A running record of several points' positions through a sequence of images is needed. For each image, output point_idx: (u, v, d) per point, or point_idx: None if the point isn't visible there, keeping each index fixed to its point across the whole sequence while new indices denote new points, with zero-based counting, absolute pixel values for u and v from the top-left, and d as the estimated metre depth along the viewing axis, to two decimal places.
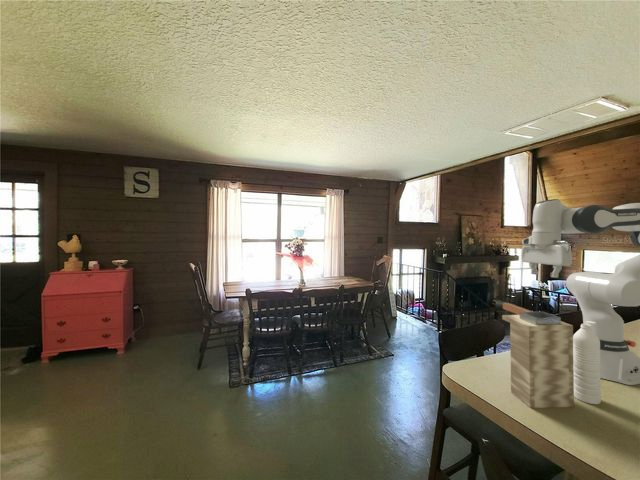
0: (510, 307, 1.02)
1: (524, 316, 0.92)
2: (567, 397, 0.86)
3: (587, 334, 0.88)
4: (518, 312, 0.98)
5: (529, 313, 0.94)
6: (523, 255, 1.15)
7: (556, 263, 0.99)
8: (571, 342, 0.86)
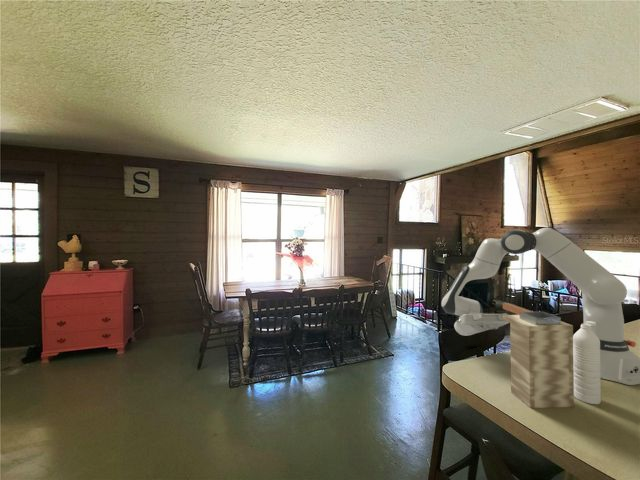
0: (510, 307, 1.02)
1: (524, 316, 0.92)
2: (567, 397, 0.86)
3: (587, 334, 0.88)
4: (518, 312, 0.98)
5: (529, 313, 0.94)
6: (505, 323, 1.20)
7: (471, 322, 1.18)
8: (571, 342, 0.86)
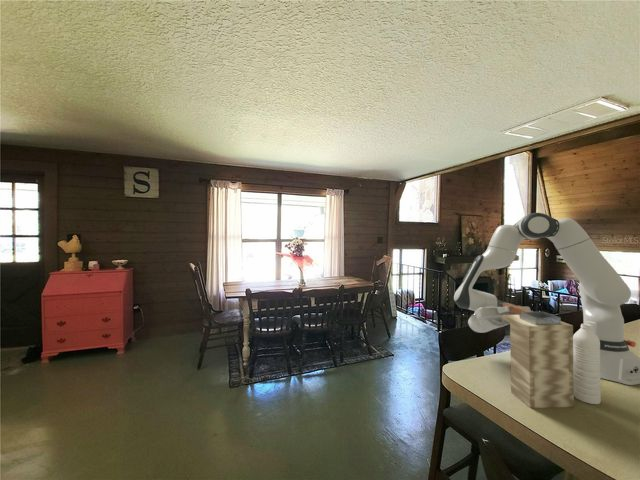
0: None
1: (524, 316, 0.92)
2: (567, 397, 0.86)
3: (587, 334, 0.88)
4: (518, 312, 0.98)
5: (529, 313, 0.94)
6: None
7: (488, 316, 1.06)
8: (571, 342, 0.86)
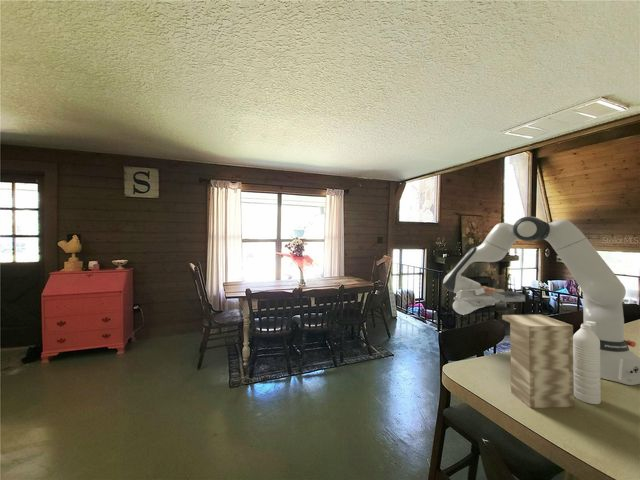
0: (486, 289, 1.17)
1: (495, 295, 1.06)
2: (567, 397, 0.86)
3: (587, 334, 0.88)
4: (492, 293, 1.13)
5: (500, 293, 1.08)
6: None
7: (467, 297, 1.21)
8: (571, 342, 0.86)
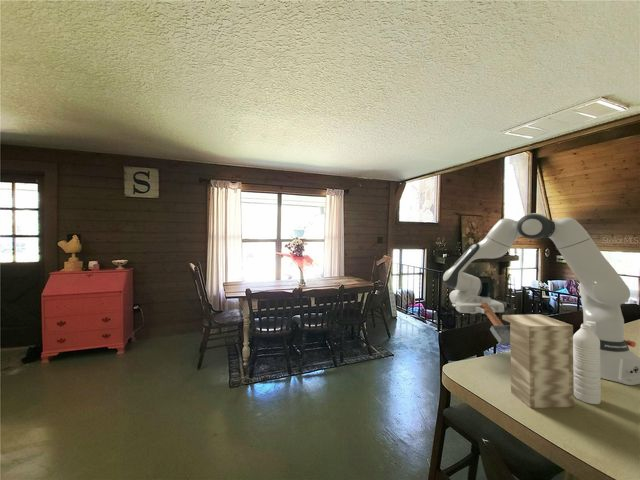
0: None
1: (493, 331, 1.08)
2: (567, 397, 0.86)
3: (587, 334, 0.88)
4: (491, 319, 1.14)
5: (499, 326, 1.09)
6: None
7: (465, 312, 1.22)
8: (571, 342, 0.86)
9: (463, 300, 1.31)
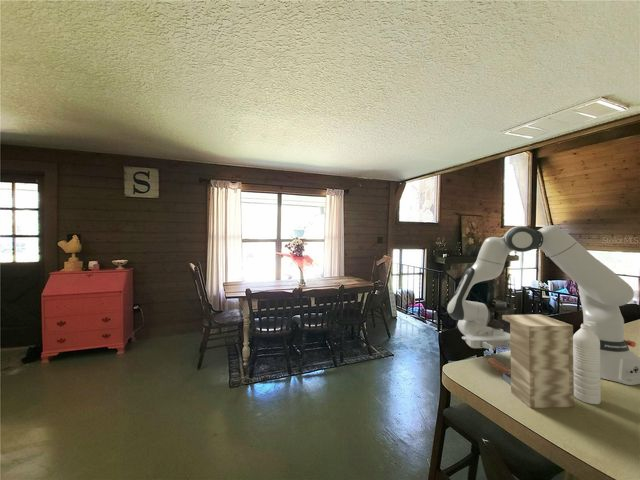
0: (495, 364, 1.12)
1: (506, 378, 1.01)
2: (567, 397, 0.86)
3: (587, 334, 0.88)
4: (501, 370, 1.08)
5: (510, 374, 1.03)
6: None
7: None
8: (571, 342, 0.86)
9: (473, 332, 1.22)
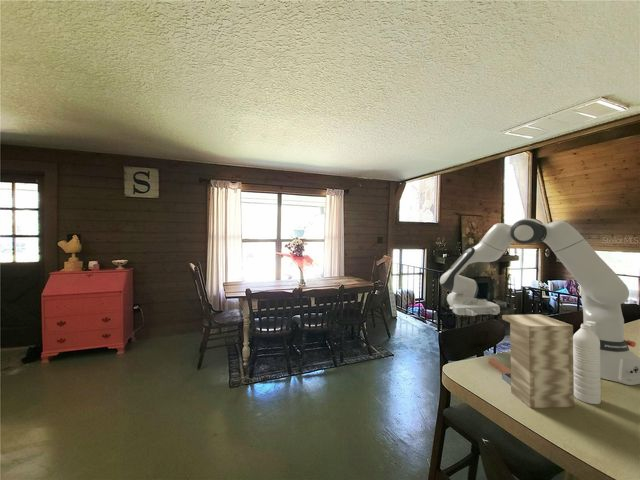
0: (495, 364, 1.12)
1: (506, 378, 1.01)
2: (567, 397, 0.86)
3: (587, 334, 0.88)
4: (501, 370, 1.08)
5: (510, 374, 1.03)
6: None
7: (462, 314, 1.26)
8: (571, 342, 0.86)
9: (460, 302, 1.34)
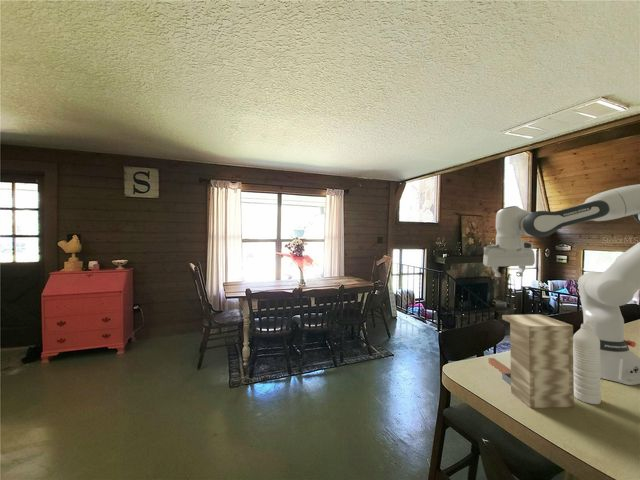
0: (495, 364, 1.12)
1: (506, 378, 1.01)
2: (567, 397, 0.86)
3: (587, 334, 0.88)
4: (501, 370, 1.08)
5: (510, 374, 1.03)
6: None
7: None
8: (571, 342, 0.86)
9: (501, 245, 1.14)
